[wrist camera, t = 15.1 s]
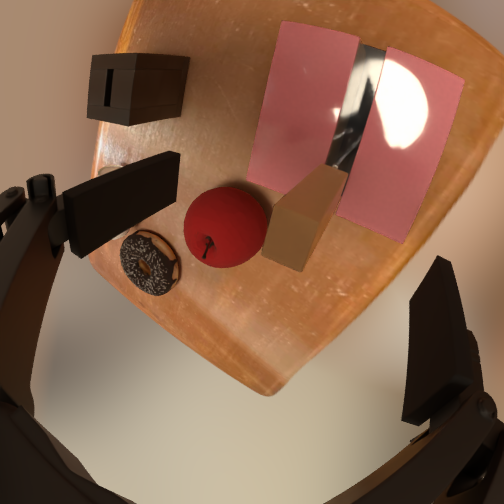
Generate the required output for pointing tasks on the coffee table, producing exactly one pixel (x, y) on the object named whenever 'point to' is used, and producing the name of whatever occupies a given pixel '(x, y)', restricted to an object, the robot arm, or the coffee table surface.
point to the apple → (225, 227)
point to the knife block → (136, 87)
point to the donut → (149, 263)
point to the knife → (305, 214)
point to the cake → (354, 123)
